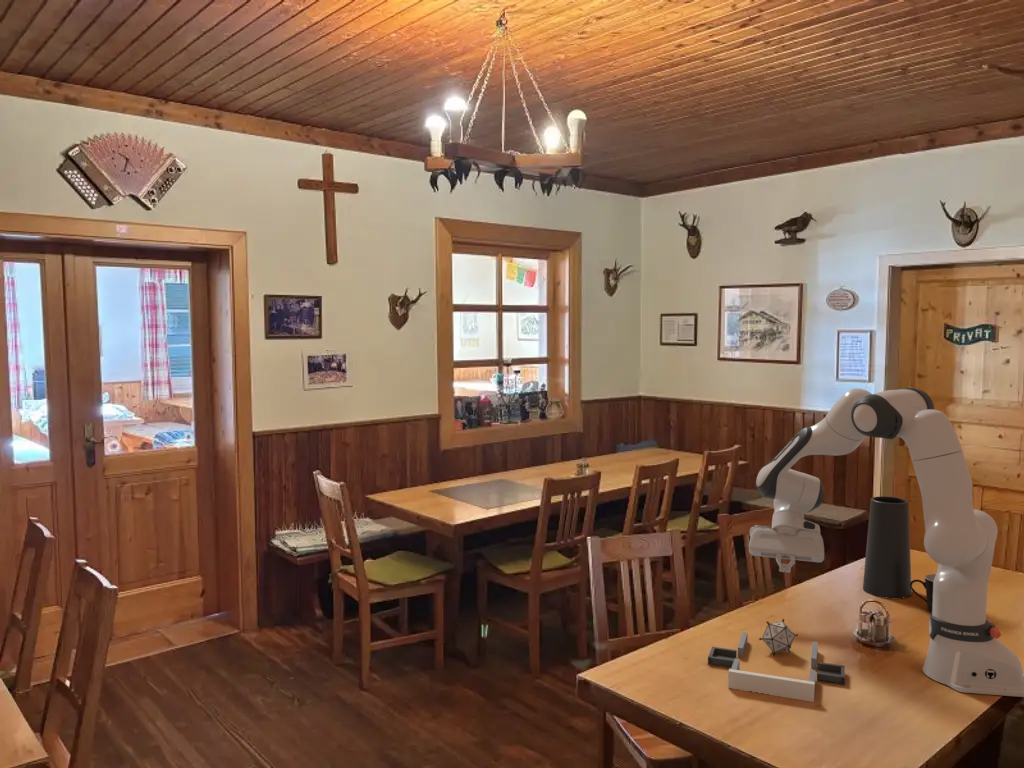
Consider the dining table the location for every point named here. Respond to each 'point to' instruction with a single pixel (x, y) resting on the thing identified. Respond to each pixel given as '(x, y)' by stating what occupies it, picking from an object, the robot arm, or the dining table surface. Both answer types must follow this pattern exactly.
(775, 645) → the game die
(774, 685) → the trap lane
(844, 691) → the dining table surface
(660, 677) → the dining table surface
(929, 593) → the coffee mug
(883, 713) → the dining table surface
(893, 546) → the vase
